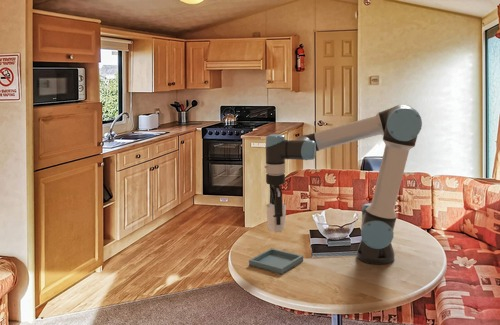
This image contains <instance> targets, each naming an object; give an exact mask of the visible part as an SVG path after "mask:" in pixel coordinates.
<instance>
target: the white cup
mask: <svg viewBox="0 0 500 325" xmlns="http://www.w3.org/2000/svg"><path fill="white" fill-rule="evenodd" d="M265 207H266V208H265V209H266V222H267V230H268V231H270V232H274V233H275V231H274V217H273V216H274V215H275V208H274V205H273V204H271V203H270V202H269V203H267V204H266V205H265ZM286 210H287V205H286V204H284V203H283V202H282V214H283V216H282V217H281V225H282V232H283V231H285V228H286V227H285V226H286V215H287V213H286V212H287V211H286ZM278 214H279V213H278Z"/></svg>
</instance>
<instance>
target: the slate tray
mask: <svg viewBox="0 0 500 325" xmlns="http://www.w3.org/2000/svg"><path fill="white" fill-rule="evenodd" d="M303 262H304V255H301V254H297V253H293V252H289V251H285V250H280V249H276V248H272V247H271V248H269V249H267V250H265V251H263V252H262V253H260V254H257V255H256V256H253V257H252V258H250V259H249V260H248V266H249V267H251V268H252V267H253V268H256V269H259V270H262V271H263V270H264V271H266V272H270V273H275V274H278V275H284V274H286V273H287V272H289V271H291V270H292V269H293V268H295V267H297V266H299V265H300V264H301V263H303Z"/></svg>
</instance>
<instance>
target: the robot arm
mask: <svg viewBox="0 0 500 325" xmlns="http://www.w3.org/2000/svg"><path fill="white" fill-rule="evenodd" d="M422 125H423V121H422V117H421V114H420V113H419V111H417V109H415V108H413V107H412V106H411V105H408V104H398V105H395V106H393V107H390V108H388V109H386V110H381V111H378V112H377V113H376V114H375V115H373V116H370V117H366V118H363V119H359V120H356V121H353V122H348V123H345V124H341V125H338V126H335V127H331V128H326V129H325V130H320V131H316V132H313V133H310V134H303V135H300V136H299V137H298V138H297V139H296V140H295V139H293V140H292V139H286V138H285V135H284V134H280V133H278V134H273V133H271V134H268V135H267V136H266V137H265V147H264V148H265V164H266V165H264V168H265V173H266V175H265V183H266V184H268V185H269V204H270V203H271V204H273V205H274V208H275V215H274V216H273V217H274V231H275V232H274V233H275V234H276V233H282V232H283V231H282V225H281V217H282V216H283V214H282V203H283V191H282V187H281V185H284V184H285V183H286V175H285V173H286V161H285V160H296V161H297V160H301V161H308V160H309V161H310V160H313V161H314V160H315V159H316V154H317V152H319V151H322V150H326V149H329V148H333V147H337V146H341V145H345V144H349V143H352V142H356V141H360V140H364V139H365V140H366V139H368V138H372V137H375V136H379V135H381V136H382V141H383V143H384V144H385V145H384V146H385V147H384V151H383V154H382V157H381V158H382V159H381V163H380V167H379V170H378V174H377V179H376V184H375V187H374V192H373V196H372V200H371V202H370V203H364V204H363V205H362V207H361V208H362V209H361V230H360V237H361V239H360V242H359V245H358V248H357V250H356V257H357V259H358V260H359V261H362V262H364V263H367V264H371V265H387V264H390V263H392V262H394V261H395V252H394V251H395V250H394V247H393V245H392V241H393V239H394V229H395V225H396V220H397V217H398V216H397V213H396V212H395V208H396V203H397V199H398V196H399V192H400V187H401V184H402V180H403V177H404V172H405V168H406V164H407V161H408V156H409V152H410V150H411V149H413V148H415V146H416V143H417V140H418V135H419V134H420V132H421V131H422ZM278 213H279V214H278Z"/></svg>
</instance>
